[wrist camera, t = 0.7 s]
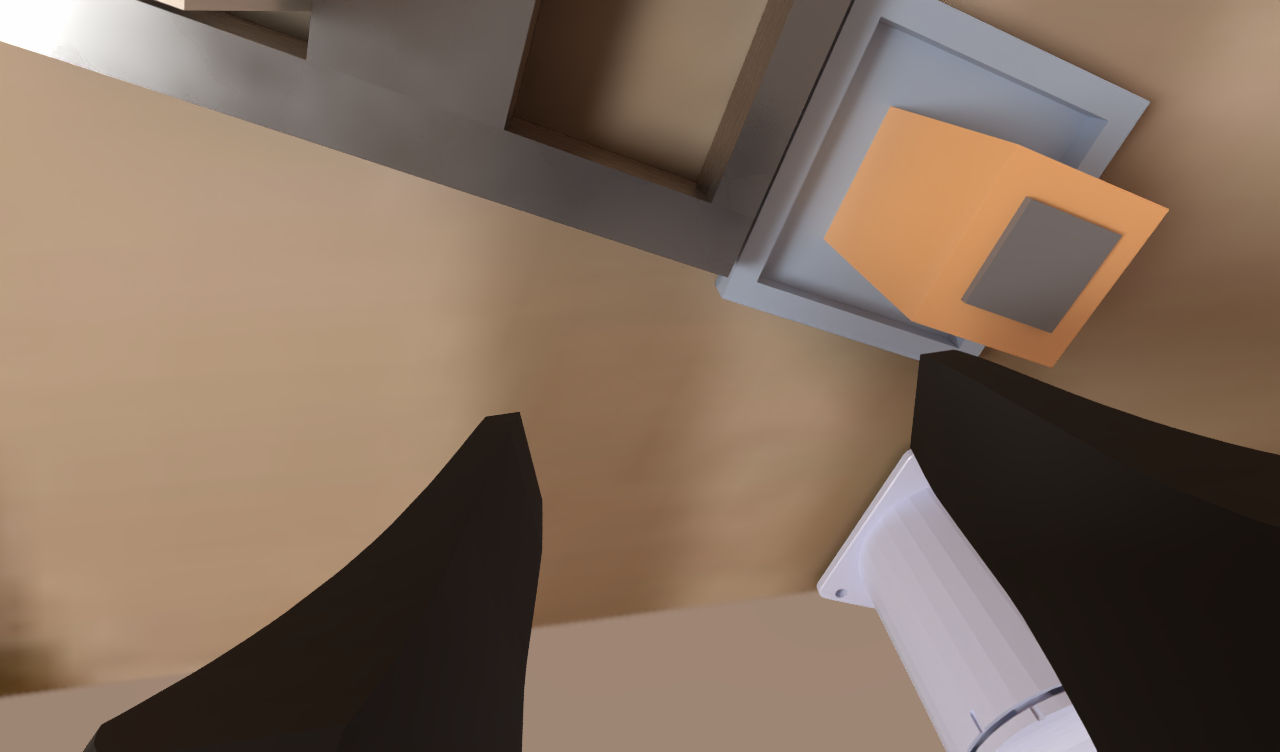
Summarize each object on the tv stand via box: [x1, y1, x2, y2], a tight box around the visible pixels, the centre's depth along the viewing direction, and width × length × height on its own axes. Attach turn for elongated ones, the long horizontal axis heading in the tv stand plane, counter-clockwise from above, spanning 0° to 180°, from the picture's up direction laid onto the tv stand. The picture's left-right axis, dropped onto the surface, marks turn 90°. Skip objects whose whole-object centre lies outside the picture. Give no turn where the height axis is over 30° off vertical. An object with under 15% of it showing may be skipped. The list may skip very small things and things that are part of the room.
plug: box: [824, 106, 1169, 368], centre depth 16 cm, size 4×4×6 cm
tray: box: [715, 0, 1150, 361], centre depth 19 cm, size 9×9×1 cm
